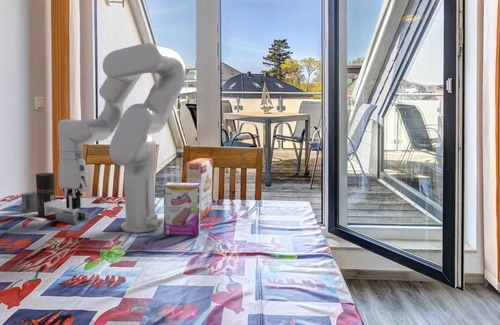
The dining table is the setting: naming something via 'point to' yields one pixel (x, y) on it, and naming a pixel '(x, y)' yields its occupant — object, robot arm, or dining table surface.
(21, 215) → the green band
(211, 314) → the dining table surface
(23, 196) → the grey flat block
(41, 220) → the strips
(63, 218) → the grey metal bracket
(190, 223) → the candy bar box
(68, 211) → the grey angular piece
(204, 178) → the cracker box
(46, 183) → the deodorant
